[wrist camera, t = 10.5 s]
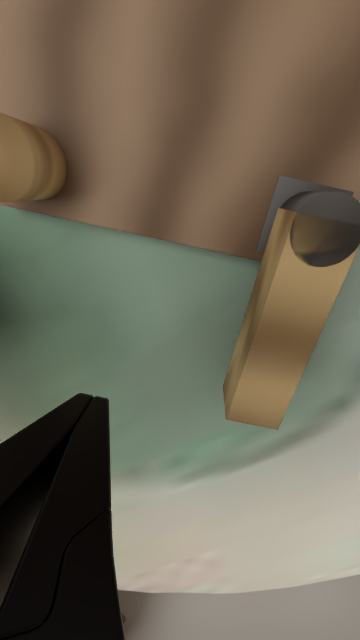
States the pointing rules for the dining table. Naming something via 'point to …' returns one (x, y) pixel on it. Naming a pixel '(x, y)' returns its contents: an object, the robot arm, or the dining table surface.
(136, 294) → the dining table surface
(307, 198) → the folding leg
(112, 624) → the robot arm
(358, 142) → the stool seat
